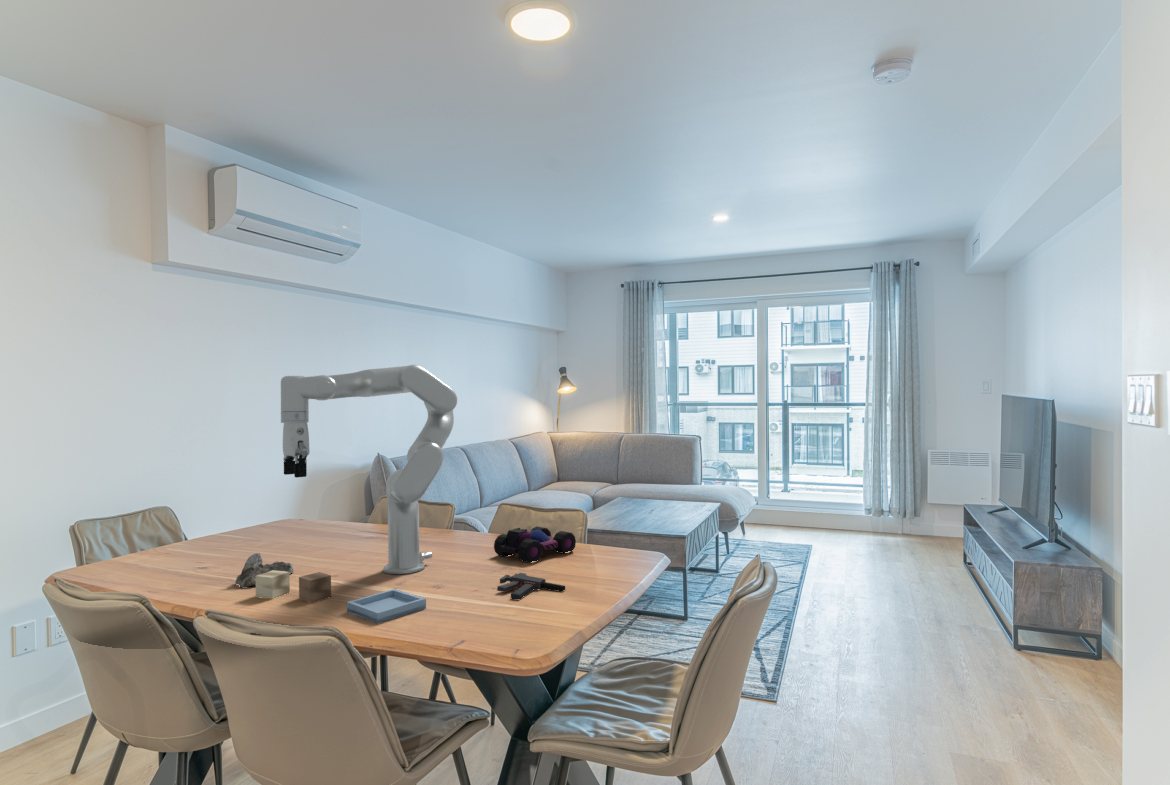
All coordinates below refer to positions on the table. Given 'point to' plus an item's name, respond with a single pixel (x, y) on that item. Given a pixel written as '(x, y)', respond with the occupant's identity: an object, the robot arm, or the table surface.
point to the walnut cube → (314, 587)
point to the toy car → (533, 543)
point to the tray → (386, 605)
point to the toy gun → (525, 585)
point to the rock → (259, 570)
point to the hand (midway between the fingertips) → (294, 475)
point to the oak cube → (272, 584)
